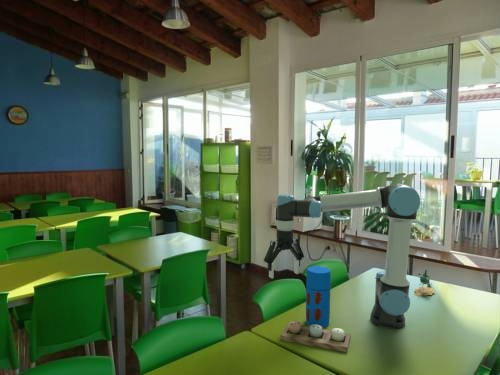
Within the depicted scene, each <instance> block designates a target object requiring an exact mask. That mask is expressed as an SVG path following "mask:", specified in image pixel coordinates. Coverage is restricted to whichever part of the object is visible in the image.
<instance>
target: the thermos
mask: <svg viewBox="0 0 500 375" xmlns="http://www.w3.org/2000/svg"><path fill="white" fill-rule="evenodd" d="M331 273H332V272H331V269H330V268H329V267H326V266H320V265H319V266H317V265H315V266H313V265H312V266H310V267H307V268H306V283H305V284H306V285H305V288H306V291H305V323H306V325H308V327H310V326H311V325H314V324H316V325H320V326H321V327H322V329H325V328H326V327H328V326H330V315H331V314H330V313H331V312H330V311H331V279H332V278H331V276H332V274H331Z"/></svg>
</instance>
